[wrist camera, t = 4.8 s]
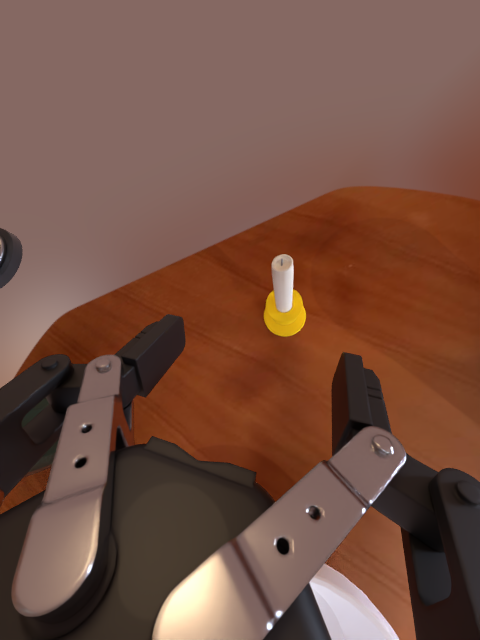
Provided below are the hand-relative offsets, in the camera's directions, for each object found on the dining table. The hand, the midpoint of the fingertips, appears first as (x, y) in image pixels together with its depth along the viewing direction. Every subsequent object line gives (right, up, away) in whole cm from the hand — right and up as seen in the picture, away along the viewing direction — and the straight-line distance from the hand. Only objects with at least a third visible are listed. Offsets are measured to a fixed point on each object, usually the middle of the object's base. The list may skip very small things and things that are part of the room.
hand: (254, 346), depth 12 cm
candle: (+5, +2, +19) cm, 20 cm away
